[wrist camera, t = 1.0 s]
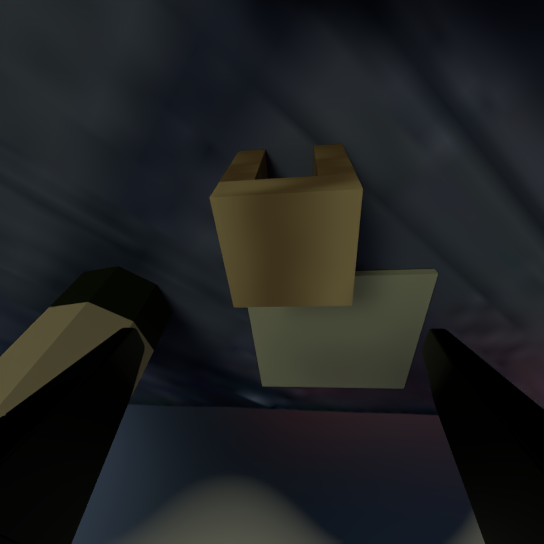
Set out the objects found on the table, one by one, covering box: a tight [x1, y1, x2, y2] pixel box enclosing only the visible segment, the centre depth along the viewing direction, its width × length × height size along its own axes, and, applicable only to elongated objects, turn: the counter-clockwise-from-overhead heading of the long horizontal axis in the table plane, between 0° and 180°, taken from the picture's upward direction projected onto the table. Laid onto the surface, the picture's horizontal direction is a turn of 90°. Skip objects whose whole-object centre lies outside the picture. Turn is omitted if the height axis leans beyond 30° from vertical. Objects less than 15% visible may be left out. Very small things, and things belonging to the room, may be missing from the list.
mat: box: [248, 269, 438, 389], centre depth 26 cm, size 14×14×1 cm
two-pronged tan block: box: [210, 144, 363, 307], centre depth 16 cm, size 6×6×7 cm
